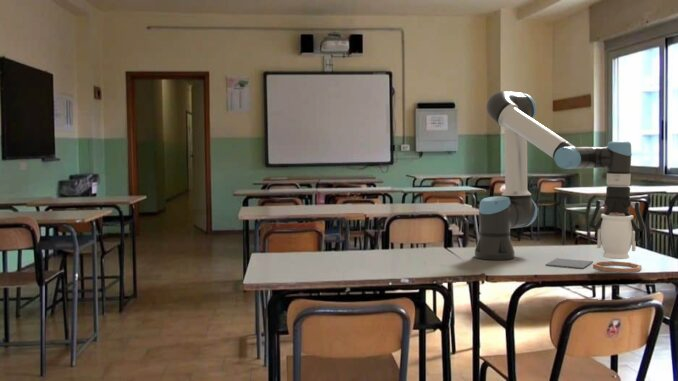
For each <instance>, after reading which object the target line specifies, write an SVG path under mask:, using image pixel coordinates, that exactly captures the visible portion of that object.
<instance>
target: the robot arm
mask: <svg viewBox="0 0 678 381" xmlns="http://www.w3.org/2000/svg"><path fill="white" fill-rule="evenodd" d="M485 110H486V114H487V116H488V117H489V118H490V120H492V121H493V122H495V123H496V124H498V125H499V126H500V128H501V129H502V130H503V131H504V188H505V190H504V191H503V192H502V193H501V195H500V196H499V195H498V196H497V195H496V196H489V197H488V196H487V197H484V198H483V199H481V200H480V201H479V208H478V212H479V213H478V214H479V215H478V217H479V218H478V223H479V224H478V225H479V226H478V228H479V230H478V231H479V234H478V240H477V243H476V245H475V249H474V257H475V258H477V259H479V260H481V259H482V260H491V261H506V260H507V261H508V260H513V259H515V250H514V246H513V243H512V239H511V229H518V228H519V229H521V228H524V227H525V228H526V227H528V226H530V225H532V224H533V223H534V222H535V220H536V219H537V216H538V206H537V203H535V201H534V200H533V199H532V193H531V192H530V191H529V190H528V143H530V144H532V145H533V146H535V147H537V148H538V149H539V150H540V151H542V152H543V153H545V154H546V155H548V156H549V157H551V158H552V159H553V160H554V162H555V164H556V166H558V167H559V168H561V169H564V170H574V169H576V170H577V169H606V185H607V186H606V187H605V188H606V193H605V200H602V199H597V200H596V202H595V209H594V211H593V215H592V216H591V217H592V218H591V219H590V222H589V225H588V226H589V228H592V229H594V239H597V243H596V244H597V246H596V248H597V249H601V248H602V241H601V234H600V230H601V223H602V220H603V218H602V217H601V216H600V219H598V217H599V214H600V212H601V209H602V207H603V206H604V205H605V206H606V208H607V209H606V211H605V212H604V213H603V214H604V215H609V214H610V213H617V214H624V215H625V216H631V215H632V214H631V212H630V210H629V207H631V206H632V208H633V209H634V211H635V212H634V213H635V216H636V218H637V221H638V224H637V222H636V221H635V219H634V218H633V219H632V220H631V224H632V227H633V232H632V244H631V251H632V252H635V251H636V248H637V247H636V245H637V244H636V242H639V241H640V232H643V231H645V230H646V225H645V222H644V218H643V215H642V212H641V209H640V207H641V206H640V205H641V202H639V201H631V188H630V185H631V178H632V177H631V176H632V174H631V168H632V165H631V164H632V155H633V154H632V143H631V142H629V141H620V140H619V141H608V143H607V146H603V147H601V146H576V145H574V144H572V143H570V142H569V141H568V140H566V139H565V138H564V137H561V135H558V134H557V133H555V132H554V131H552V130H551V129H550V128H548V127H546V126H545V125H543V124H542V123H540V122H539V121H537V120H535V119H534V117H535V115H536V114H537V104H536V101H535V100H534V99H533V97H532V96H531V95H529V94H527V93H523V92H521V91H520V92H517V91H516V92H515V91H505V90H504V91H503V90H500V91H496V92H494V93H493V94H491V95H490V96H489V98H488V99H487V101H486V104H485ZM597 219H598V221H597ZM596 222H597V223H596ZM638 225H639V226H638Z"/></svg>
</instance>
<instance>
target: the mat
mask: <svg viewBox="0 0 678 381" xmlns="http://www.w3.org/2000/svg"><path fill="white" fill-rule="evenodd" d="M593 264H594V261H592V260H582V259H569V258H555V259H553V260H551V261H549V262H547V263H545V267H554V268H566V267H568V268H567V269H579V270H584V269H586V268H587V267H589V266H590V265H593Z"/></svg>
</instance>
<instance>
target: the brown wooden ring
mask: <svg viewBox="0 0 678 381" xmlns="http://www.w3.org/2000/svg"><path fill="white" fill-rule="evenodd" d="M609 265H610V266H623V267H626V268H623V267H622V268H621V267H607V266H609ZM627 267H628V268H627ZM592 268H593V269H597V270H599V271H602V272H614V273H636V272H637V271H639V270H640V271H641V270H642V264H637V263H633V262H630V261H629V262H627V261H618V260H617V261H615V260H609V261H608V260H606V261H596V262H595V263H594V262H593V263H592ZM640 271H639V272H640Z"/></svg>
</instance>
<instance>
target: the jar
mask: <svg viewBox="0 0 678 381" xmlns="http://www.w3.org/2000/svg"><path fill="white" fill-rule="evenodd" d="M601 217H602V218H603V220H602V223H601V226H600V229H601V230H600V234H601V248H602V250H603V252H604V253H603V254H602V257H604V258H605V259H611V260H612V259H613V260H627V259H629V258H630V256H629V252H630V250H631V249H632V232H634V229H633V227H632V224H631V220H632V219H634V218H635V216H634V215H632V214H631V216H625V215H624V213H617V212H615V213H612V212H611V213H610V214H609V215H604V213H601V214H600V218H601Z"/></svg>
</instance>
